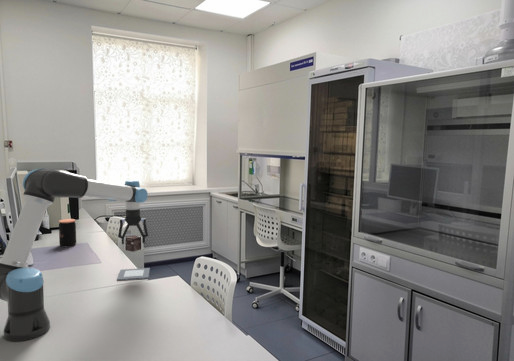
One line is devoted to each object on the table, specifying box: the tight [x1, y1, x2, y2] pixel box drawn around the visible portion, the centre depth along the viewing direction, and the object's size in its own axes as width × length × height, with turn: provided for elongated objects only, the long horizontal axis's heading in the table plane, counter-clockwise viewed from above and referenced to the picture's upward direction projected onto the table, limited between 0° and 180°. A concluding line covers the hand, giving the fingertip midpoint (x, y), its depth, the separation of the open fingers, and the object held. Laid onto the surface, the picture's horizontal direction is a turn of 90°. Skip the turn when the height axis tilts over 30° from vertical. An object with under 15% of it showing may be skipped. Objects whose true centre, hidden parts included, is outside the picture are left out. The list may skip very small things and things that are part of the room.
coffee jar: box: [58, 218, 77, 247], centre depth 265 cm, size 11×11×18 cm
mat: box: [116, 267, 151, 282], centre depth 207 cm, size 16×16×1 cm
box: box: [125, 235, 142, 253], centre depth 205 cm, size 6×6×7 cm
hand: (133, 249), depth 206 cm, fingers closed on box, 8 cm apart
